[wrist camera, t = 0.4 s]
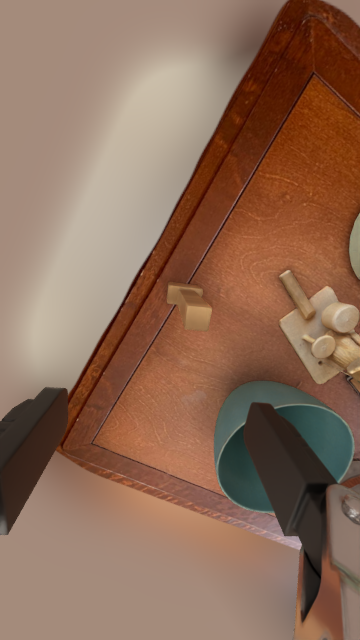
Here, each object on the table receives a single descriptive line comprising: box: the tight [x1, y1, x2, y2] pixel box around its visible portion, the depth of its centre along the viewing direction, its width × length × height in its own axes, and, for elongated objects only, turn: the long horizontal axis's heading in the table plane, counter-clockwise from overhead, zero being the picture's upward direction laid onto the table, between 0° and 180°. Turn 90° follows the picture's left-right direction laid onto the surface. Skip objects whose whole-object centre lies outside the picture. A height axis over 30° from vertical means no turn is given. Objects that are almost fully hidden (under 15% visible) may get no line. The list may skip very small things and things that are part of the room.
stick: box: [167, 282, 212, 331], centre depth 25 cm, size 2×4×16 cm, turn 83°
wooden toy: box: [279, 270, 360, 384], centre depth 29 cm, size 22×10×14 cm, turn 35°
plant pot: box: [214, 381, 355, 513], centre depth 33 cm, size 18×18×12 cm
